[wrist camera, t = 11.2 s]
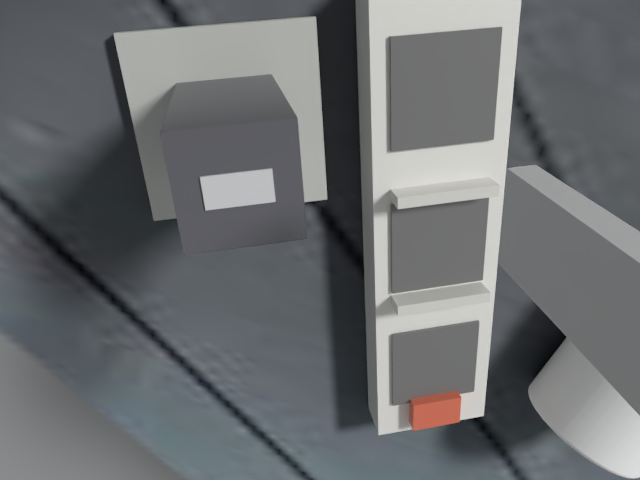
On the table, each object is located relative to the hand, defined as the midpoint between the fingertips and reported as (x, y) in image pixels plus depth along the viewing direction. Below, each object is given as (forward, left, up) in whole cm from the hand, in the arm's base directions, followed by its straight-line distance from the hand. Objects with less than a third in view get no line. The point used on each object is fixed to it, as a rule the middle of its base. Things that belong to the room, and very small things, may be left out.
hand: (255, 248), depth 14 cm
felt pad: (0, 0, -15) cm, 15 cm away
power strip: (+3, +10, -15) cm, 18 cm away
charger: (0, 0, -15) cm, 14 cm away
